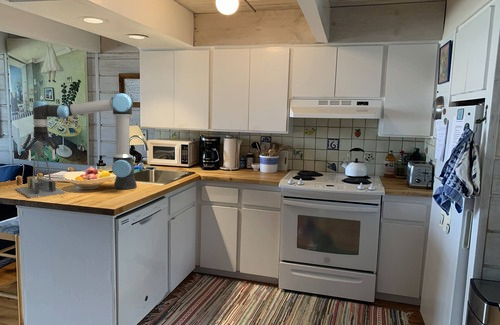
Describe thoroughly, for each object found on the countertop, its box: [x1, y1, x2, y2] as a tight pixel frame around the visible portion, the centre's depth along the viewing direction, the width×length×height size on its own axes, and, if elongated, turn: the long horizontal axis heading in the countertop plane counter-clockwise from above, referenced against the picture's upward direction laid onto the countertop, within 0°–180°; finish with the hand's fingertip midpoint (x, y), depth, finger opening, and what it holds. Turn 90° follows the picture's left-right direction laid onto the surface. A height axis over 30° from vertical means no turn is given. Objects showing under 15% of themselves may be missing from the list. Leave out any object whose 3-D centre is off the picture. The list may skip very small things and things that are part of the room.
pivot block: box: [26, 175, 42, 188], centre depth 238 cm, size 5×7×8 cm
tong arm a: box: [37, 177, 57, 191], centre depth 232 cm, size 19×2×6 cm, turn 57°
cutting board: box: [15, 186, 66, 199], centre depth 231 cm, size 30×20×1 cm, turn 47°
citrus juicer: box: [32, 141, 52, 180], centre depth 255 cm, size 11×10×30 cm
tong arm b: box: [32, 178, 39, 193], centre depth 227 cm, size 19×2×6 cm, turn 37°
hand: (41, 160), depth 225 cm, fingers open, 13 cm apart
